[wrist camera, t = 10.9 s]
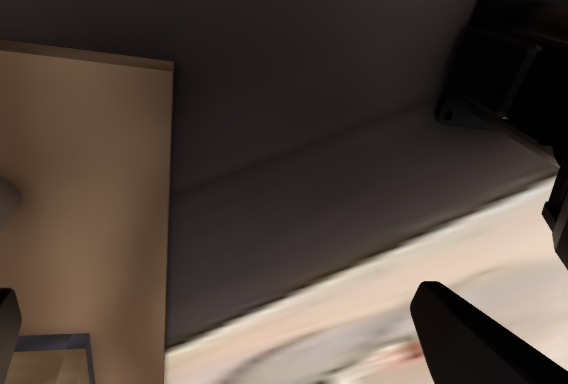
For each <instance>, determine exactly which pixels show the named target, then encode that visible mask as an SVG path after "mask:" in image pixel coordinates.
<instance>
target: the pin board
mask: <svg viewBox="0 0 568 384" xmlns="http://www.w3.org/2000/svg"><path fill="white" fill-rule="evenodd" d="M173 80H174V62H173V61H165V60H157V59H149V58H142V57H134V56H126V55H119V54H111V53H103V52H95V51H88V50H80V49H72V48H64V47H57V46H49V45H41V44H34V43H26V42H18V41H10V40H3V39H0V288H3V287H10V288H12V289H14V291H15V293H16V296H17V300H18V304H19V308H20V312H21V316H22V323H21V328H20V332H19V335H18V336H25V335H51V334H76V333H90V342H91V350H92V359H93V368H94V376H95V384H164V358H165V327H166V296H167V265H168V234H169V203H170V173H171V142H172V111H173Z"/></svg>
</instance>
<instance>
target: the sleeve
mask: <svg viewBox="0 0 568 384" xmlns="http://www.w3.org/2000/svg"><path fill="white" fill-rule="evenodd" d="M4 384H95V376H94V368H93V359H92V350H91V342H90V333H76V334H51V335H25V336H18V339H17V342H16V346H15V349H14V352H13V356H12V359H11V363H10V366H9V369H8V373H7V376H6V380H5V383H4Z"/></svg>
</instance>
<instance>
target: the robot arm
mask: <svg viewBox="0 0 568 384" xmlns="http://www.w3.org/2000/svg"><path fill="white" fill-rule="evenodd" d="M447 111H449V112H448V114H447V116H445V117H444V114H445V113H446V112H447ZM435 119H436V120H437V121H438V122H440V123H441V124H443V125H450V126H459V127H469V128H478V129H487V130H496V131H501V132H502V133H504V134H506V135H507V136H509V137H511V138H512V139H514V140H515V141H517V142H519V143H520V144H522V145H523V146H525V147H527V148H528V149H530V150H532V151H533V152H535V153H536V154H538V155H540V156H541V157H543V158H544V159H546V160H548V161H549V162H551V163H552V164H554V165H556V166H557V167H559V171H558V174H557V177H556V180H555V183H554V186H553V189H552V192H551V195H550V198H549V201H547V202H545V204H544V207H543V210H542V216H543V217H544V219H545V221H546V222H547V224H548V226H549V227H550V229H551V230H552V232H553V233H552V236H553V242H554V249H555V252H556V253H557V255H558V256H559V258H560V259H561V261H562V262H563V264H564V265H565V267H566V268H567V270H568V0H479V2H478V5H477V7H476V10H475V12H474V15H473V17H472V20H471V22H470V25H469V28H468V30H467V31H466V33H465V36H464V38H463V41H462V43H461V46H460V49H459V51H458V54H457V56H456V59H455V61H454V64H453V66H452V69H451V71H450V74H449V77H448V79H447V82H446V86H445V89H444V91H443V94H442V96H441V99H440V101H439V104H438V106H437V109H436V112H435ZM410 312H411V316H412V319H413V322H414V325H415V328H416V331H417V335H418V338H419V341H420V344H421V347H422V350H423V353H424V356H425V360H426V363H427V365H428V368H429V371H430V374H431V376H432V378H433V381H434V383H435V384H568V371H567V370H565V369H564V368H562V367H561V366H559V365H558V364H556V363H555V362H554V361H552V360H551V359H549V358H548V357H546V356H545V355H544V354H542V353H541V352H539V351H538V350H536V349H535V348H533V347H532V346H531V345H529V344H528V343H526V342H525V341H523V340H522V339H521V338H519V337H518V336H516V335H515V334H513V333H512V332H510V331H509V330H508V329H506V328H505V327H503V326H502V325H500V324H499V323H498V322H496V321H495V320H493V319H492V318H490V317H489V316H487V315H486V314H485V313H483V312H482V311H480V310H479V309H477V308H476V307H475V306H473V305H472V304H470V303H469V302H467V301H466V300H464V299H463V298H462V297H460V296H459V295H457V294H456V293H454V292H453V291H452V290H450V289H449V288H447V287H446V286H444V285H443V284H441V283H440V282H437V281H424V282H422V283H421V284H420V285H419V287H418V289H417V291H416V293H415V296H414V298H413V300H412V302H411V305H410ZM21 323H22V316H21V312H20V308H19V304H18V300H17V296H16V293H15V291H14V289H12V288H10V287H3V288H0V384H4V383H5V380H6V376H7V373H8V369H9V366H10V363H11V359H12V356H13V352H14V349H15V346H16V342H17V339H18V335H19V332H20V328H21Z"/></svg>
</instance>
